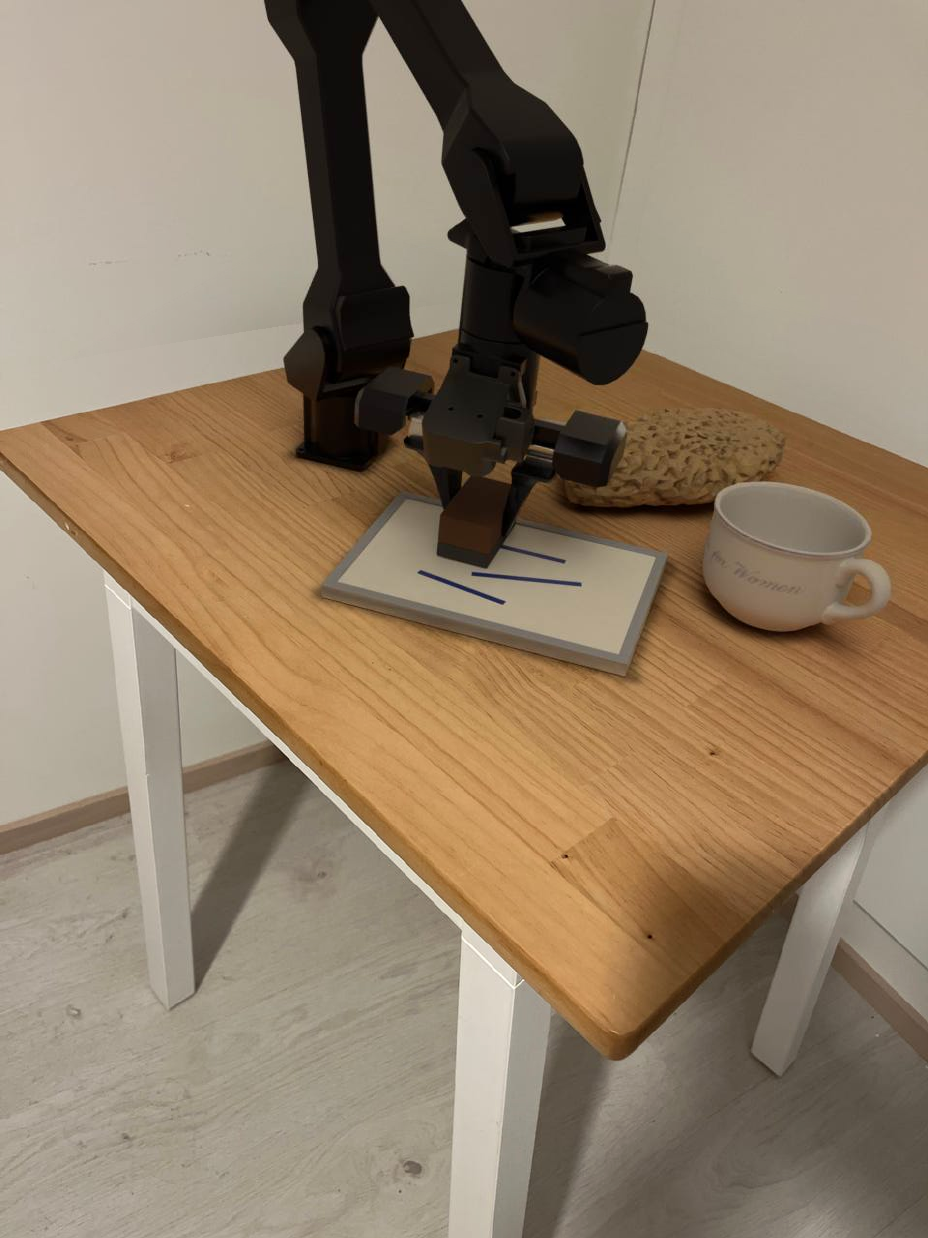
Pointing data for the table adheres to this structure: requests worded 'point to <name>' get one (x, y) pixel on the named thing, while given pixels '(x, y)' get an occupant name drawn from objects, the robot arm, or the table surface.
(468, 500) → the eraser
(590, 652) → the whiteboard
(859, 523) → the teacup
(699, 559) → the table surface
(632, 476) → the sponge
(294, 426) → the table surface
